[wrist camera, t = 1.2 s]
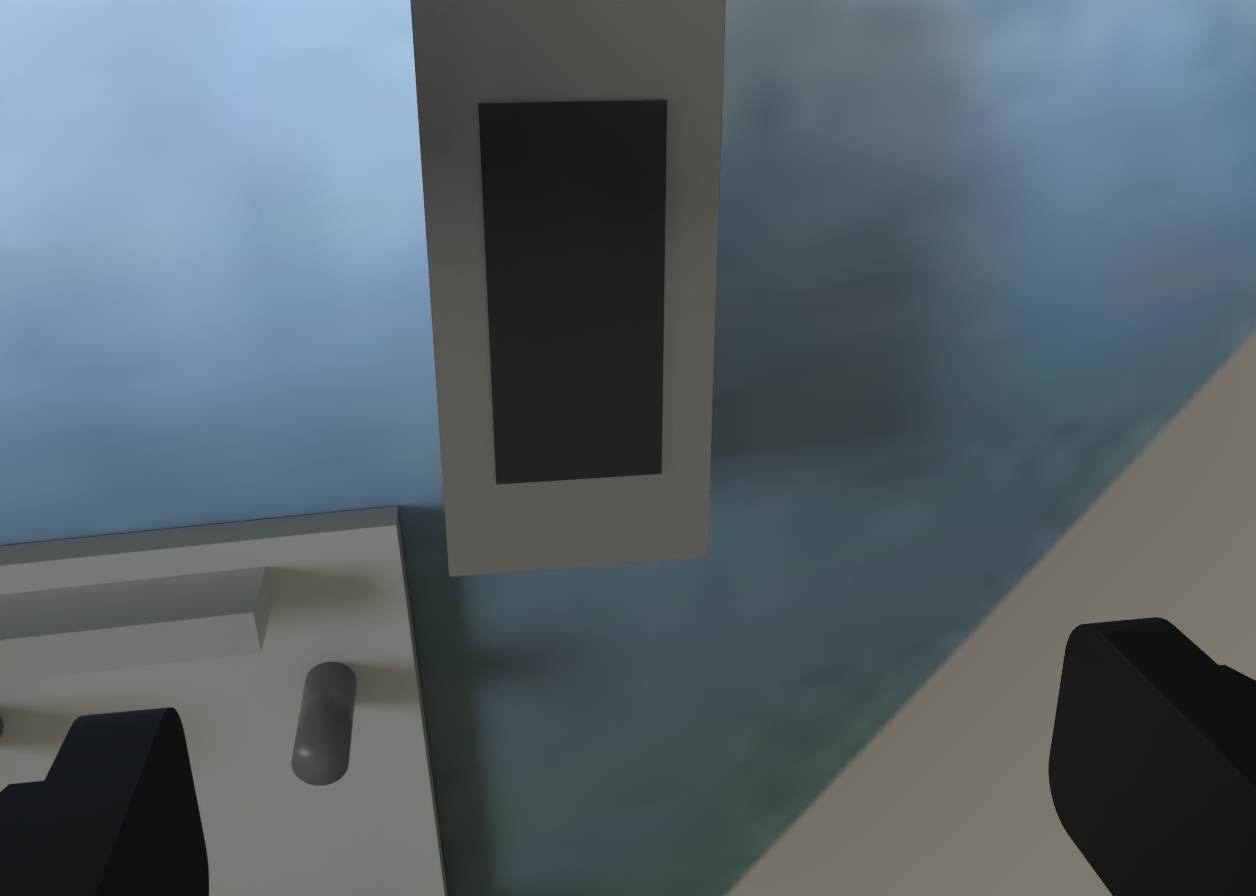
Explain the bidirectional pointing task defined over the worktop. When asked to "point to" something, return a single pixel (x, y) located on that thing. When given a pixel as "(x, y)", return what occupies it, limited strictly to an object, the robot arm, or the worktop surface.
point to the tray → (243, 688)
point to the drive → (572, 274)
